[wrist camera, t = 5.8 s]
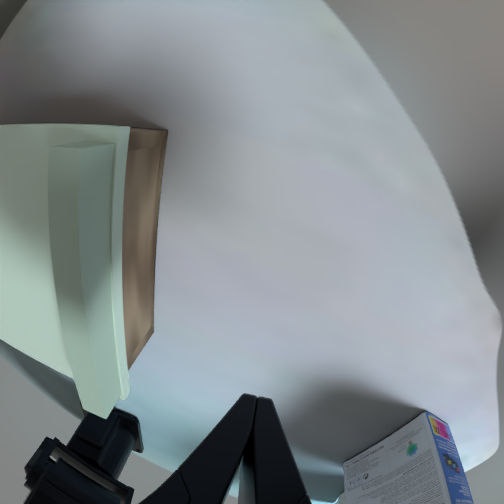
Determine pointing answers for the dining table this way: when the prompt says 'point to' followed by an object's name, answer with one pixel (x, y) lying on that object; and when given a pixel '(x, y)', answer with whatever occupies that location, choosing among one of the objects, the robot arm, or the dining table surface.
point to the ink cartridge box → (409, 468)
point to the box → (140, 235)
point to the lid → (65, 253)
